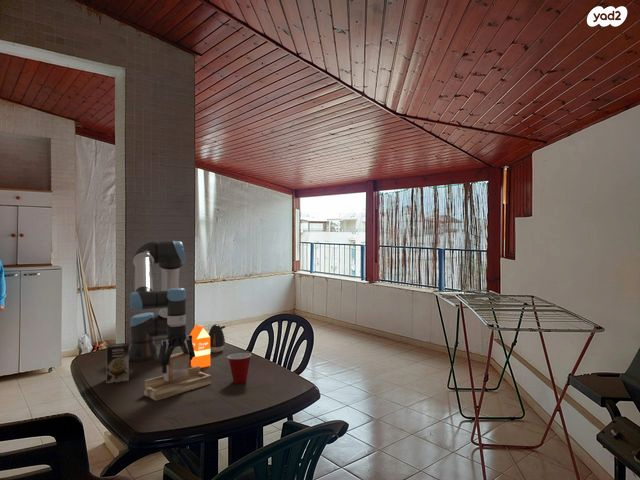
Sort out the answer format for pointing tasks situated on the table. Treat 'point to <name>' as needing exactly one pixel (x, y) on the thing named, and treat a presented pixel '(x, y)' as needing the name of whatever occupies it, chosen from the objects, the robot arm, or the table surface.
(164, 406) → the table surface
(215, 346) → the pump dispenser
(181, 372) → the wooden block
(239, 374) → the plastic cup
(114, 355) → the coffee box
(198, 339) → the orange juice
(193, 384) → the wooden tray
